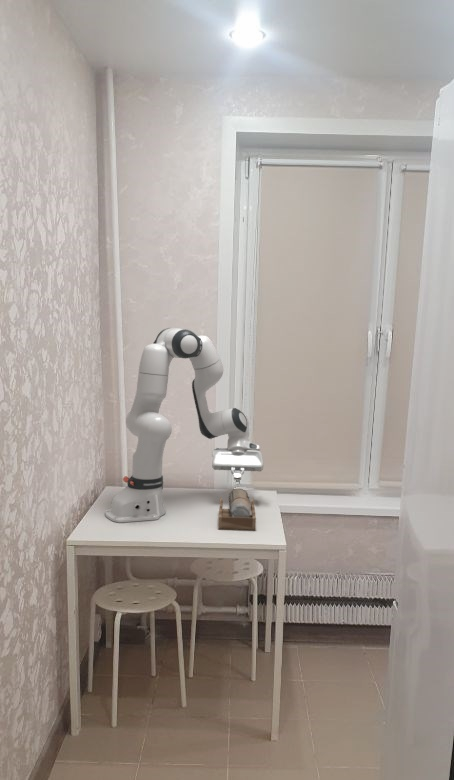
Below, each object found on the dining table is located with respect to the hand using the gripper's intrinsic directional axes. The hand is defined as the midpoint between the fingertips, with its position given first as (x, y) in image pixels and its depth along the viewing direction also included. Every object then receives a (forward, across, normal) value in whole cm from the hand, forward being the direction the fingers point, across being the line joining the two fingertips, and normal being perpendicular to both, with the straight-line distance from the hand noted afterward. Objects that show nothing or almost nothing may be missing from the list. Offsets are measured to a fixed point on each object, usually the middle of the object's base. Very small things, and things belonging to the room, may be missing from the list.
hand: (237, 479), depth 234 cm
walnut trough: (+18, 0, -1) cm, 18 cm away
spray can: (+6, +1, +5) cm, 8 cm away
